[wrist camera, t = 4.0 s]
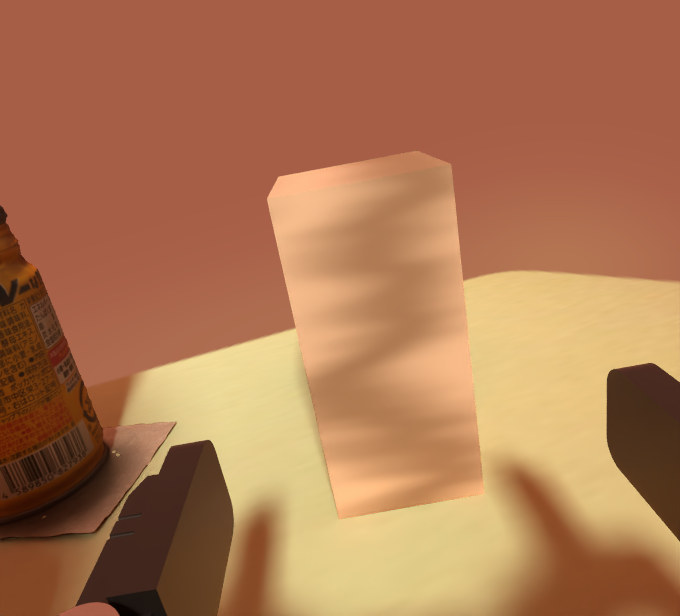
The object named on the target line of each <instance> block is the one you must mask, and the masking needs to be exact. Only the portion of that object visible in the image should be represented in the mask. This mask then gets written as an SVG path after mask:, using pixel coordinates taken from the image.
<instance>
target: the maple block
mask: <svg viewBox="0 0 680 616" xmlns="http://www.w3.org/2000/svg"><path fill="white" fill-rule="evenodd" d="M267 201H268V206H269V210H270V214H271V219H272V223H273V228H274V232H275V237H276V241H277V245H278V250H279V254H280V259H281V263H282V267H283V272H284V277H285V281H286V286H287V290H288V294H289V299H290V303H291V308H292V312H293V317H294V321H295V325H296V330H297V334H298V339H299V343H300V348H301V352H302V357H303V361H304V365H305V370H306V374H307V379H308V383H309V388H310V392H311V396H312V401H313V405H314V410H315V414H316V419H317V423H318V428H319V432H320V436H321V441H322V445H323V450H324V454H325V459H326V463H327V468H328V472H329V476H330V481H331V485H332V490H333V494H334V499H335V503H336V507H337V512H338V516H339V519H343V518H349V517H355V516H360V515H366V514H372V513H378V512H383V511H389V510H395V509H400V508H406V507H412V506H417V505H423V504H429V503H435V502H440V501H446V500H452V499H457V498H463V497H469V496H474V495H480V494H484V486H483V476H482V466H481V456H480V446H479V436H478V426H477V416H476V406H475V396H474V386H473V376H472V366H471V356H470V347H469V337H468V327H467V317H466V307H465V297H464V287H463V277H462V267H461V257H460V247H459V238H458V227H457V217H456V207H455V198H454V188H453V178H452V168H451V164H449V163H447V162H444V161H441V160H439V159H436V158H434V157H431V156H429V155H426V154H424V153H421V152H419V151H414V152H408V153H403V154H398V155H392V156H387V157H382V158H376V159H371V160H366V161H360V162H355V163H350V164H344V165H339V166H334V167H329V168H323V169H318V170H313V171H308V172H302V173H297V174H291V175H286V176H281V177H278V179H277V181H276V183H275V185H274V187H273V188H272V190H271V192H270V194H269V196H268V198H267Z"/></svg>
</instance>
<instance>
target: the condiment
mask: <svg viewBox="0 0 680 616" xmlns="http://www.w3.org/2000/svg"><path fill="white" fill-rule="evenodd" d="M6 217H7V214H6V213H5V211H4V209H3V208H2V207H1V206H0V539H2V538H5V537H11V536H17V537H31V536H35V537H47V536H55V535H60V534H65V533H93V532H94V531H95V530H96V529H97V527H98V526H99V525H100V524H101V522H102V521H103V520H104V518H105V517H107V516H108V515H109V514H110V513H111V511H112V510H113V508H114V507H115V506H116V505H117V504H118V502H119V501H120V500H121V499H122V497H123V495H124V494H125V492H126V491H127V490H128V489H129V488H130V487H131V486H132V485H133V483H134V482H135V480H136V479H137V478H138V476H139V475H140V473H141V472H142V470H143V469H144V467H145V466H146V465H148V464H149V463H150V461H151V458H152V456H153V454H154V453H155V451H156V450H157V449H158V447H159V446H160V445H161V444H162V443H163V441H164V440H165V439H166V436H167V434H168V433H169V431H170V430H171V429H172V427H173V426H174V424H175V423H176V422H159V423H154V424H136V425H131V426H117V427H108V428H102V427H101V426H100V423H99V421H98V419H97V416H96V413H95V411H94V409H93V407H92V402H91V400H90V399H89V397H88V393H87V389H86V387H85V386H84V382H83V380H82V378H81V375H80V374H79V372H78V369H77V366H76V364H75V361H74V359H73V356H72V354H71V351H70V348H69V347H68V343H67V340H66V338H65V336H64V333H63V331H62V328H61V325H60V323H59V320H58V318H57V315H56V313H55V310H54V308H53V306H52V303H51V301H50V298H49V296H48V293H47V291H46V288H45V286H44V283H43V281H42V278H41V276H40V273H39V271H38V270H37V269H36V268H35V267H34V266H33V265H32V264H30V263H28V262H27V261H26V260H25V259H24V258H23V257H22V255H21V253H20V246H19V244H18V240H17V239H16V238H15V237H14V235H13V234H12V233H11V231H10V228H9V226H8V225H7V224H6ZM113 450H116V453H120V454H121V455H120V456H119V457H117V456H116V453H112V451H113ZM43 516H46V518H42V517H43Z"/></svg>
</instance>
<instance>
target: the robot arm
mask: <svg viewBox="0 0 680 616" xmlns="http://www.w3.org/2000/svg"><path fill="white" fill-rule="evenodd" d="M607 442H608V447H609V450H610V453H611V456H612V458H613V460H614V462H615V464H616V465H617V467H618V468H619V470H620V471H621V472H622V473H623V474H624V475H625V477H626V478H627V479H628V480H629V481H630V483H631V484H632V485H633V486H634V487H635V489H636V490H637V491H638V492H639V493H640V495H641V496H642V497H643V498H644V499H645V500H646V502H647V503H648V504H649V505H650V506H651V508H652V509H653V510H654V511H655V512H656V514H657V515H658V516H659V517H660V518H661V520H662V521H663V522H664V523H665V524H666V525H667V527H668V528H669V529H670V530H671V531H672V533H673V534H674V535H675V536H676V537H677V539H678V540H679V541H680V382H678V381H677V380H676V379H674V378H673V377H672V376H670V375H669V374H668V373H666V372H665V371H664V370H662V369H661V368H660V367H658V366H657V365H655V364H653V363H647V364H642V365H636V366H630V367H624V368H619V369H613V370H611V371H610V372H609V374H608V377H607ZM118 518H119V521H116V523H115V525H114V527H113V529H112V531H111V533H110V539H109V540H107V542H106V544H105V546H104V548H103V550H102V552H101V554H100V556H99V558H98V561H97V563H96V565H95V567H94V569H93V571H92V573H91V575H90V577H89V579H88V581H87V583H86V585H85V588H84V590H83V592H82V594H81V596H80V598H79V600H78V602H77V604H76V606H75V607H73V608H71V609H69V610H67V611H65V612H63V613H61V614H60V615H58V616H217V613H218V608H219V603H220V598H221V593H222V587H223V582H224V577H225V572H226V567H227V561H228V556H229V551H230V546H231V541H232V536H233V527H234V518H233V509H232V503H231V499H230V496H229V493H228V489H227V486H226V483H225V480H224V477H223V473H222V470H221V467H220V464H219V461H218V457H217V454H216V451H215V448H214V446H213V444H212V442H211V441H210V440H204V441H199V442H193V443H187V444H182V445H176V446H172V447H171V448H170V449H169V451H168V453H167V456H166V458H165V461H164V463H163V465H162V468H161V470H160V472H159V474H157V475H151V476H147V477H146V478H145V479H144V480H143V481H142V482H141V483H140V484H139V486H138V487H137V488H136V489H135V490H134V491H133V492H132V493H131V494H130V495H129V496H128V498H127V500H126V502H125V504H124V506H123V508H122V511H121V513H120V515H119V517H118Z"/></svg>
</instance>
